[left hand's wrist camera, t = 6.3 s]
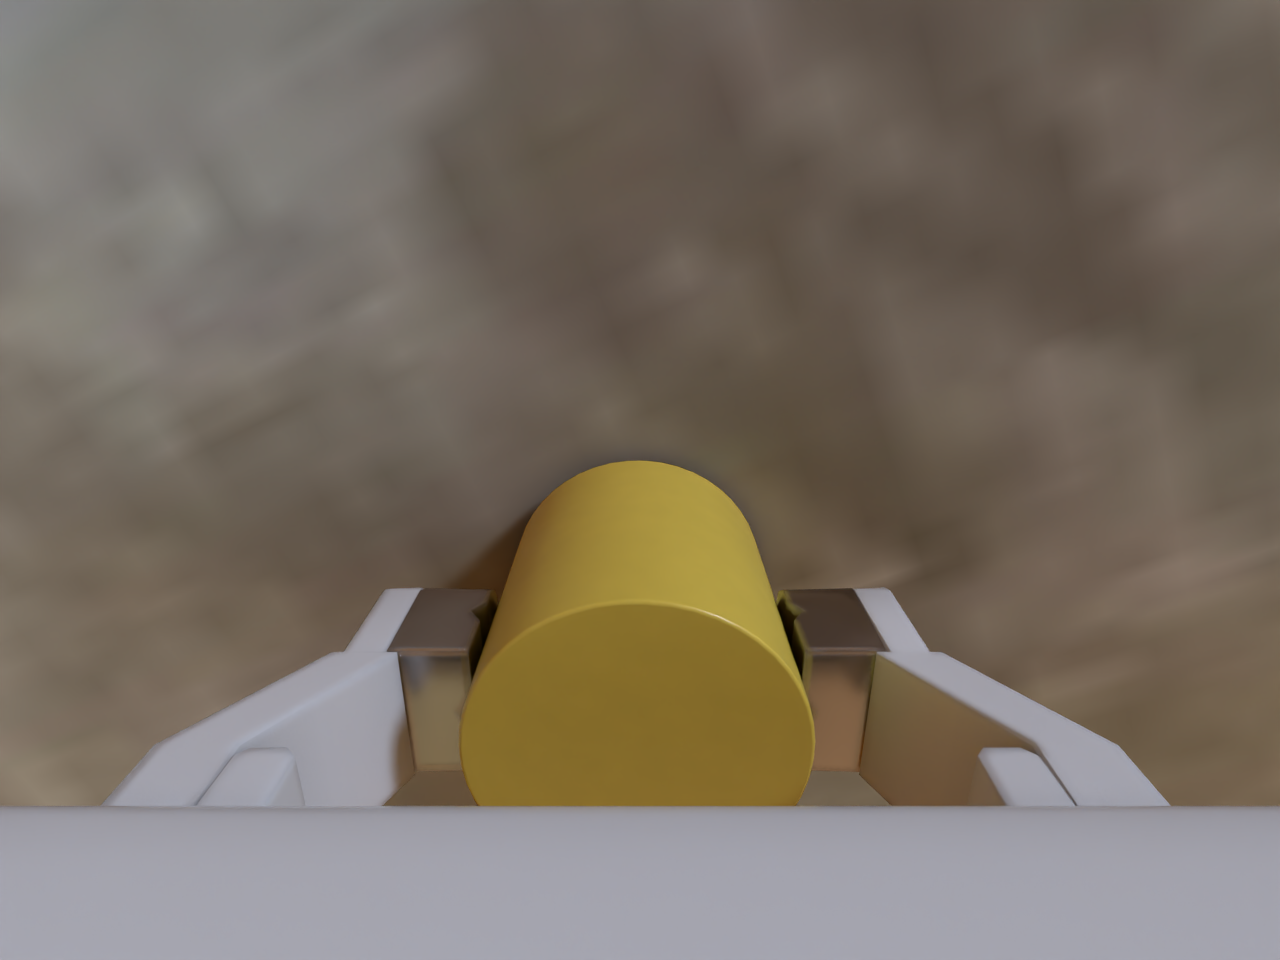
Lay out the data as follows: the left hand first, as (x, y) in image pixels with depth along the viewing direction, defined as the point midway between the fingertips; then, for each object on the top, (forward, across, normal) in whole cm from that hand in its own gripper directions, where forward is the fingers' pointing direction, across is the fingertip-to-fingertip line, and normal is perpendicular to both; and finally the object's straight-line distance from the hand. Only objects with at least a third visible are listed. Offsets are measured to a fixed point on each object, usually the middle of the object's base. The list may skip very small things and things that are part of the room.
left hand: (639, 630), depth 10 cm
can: (+2, 0, 0) cm, 2 cm away
